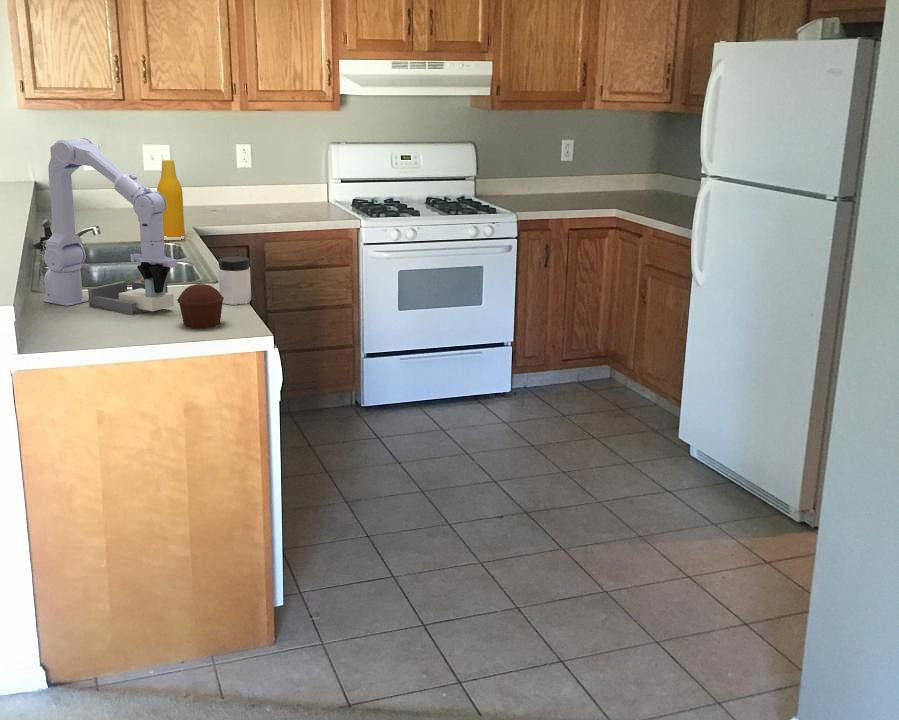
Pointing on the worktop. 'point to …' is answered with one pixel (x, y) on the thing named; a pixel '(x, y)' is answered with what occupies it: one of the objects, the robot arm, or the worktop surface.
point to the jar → (234, 280)
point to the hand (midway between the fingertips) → (155, 291)
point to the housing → (115, 297)
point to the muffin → (201, 306)
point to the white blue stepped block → (148, 297)
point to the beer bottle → (171, 201)
